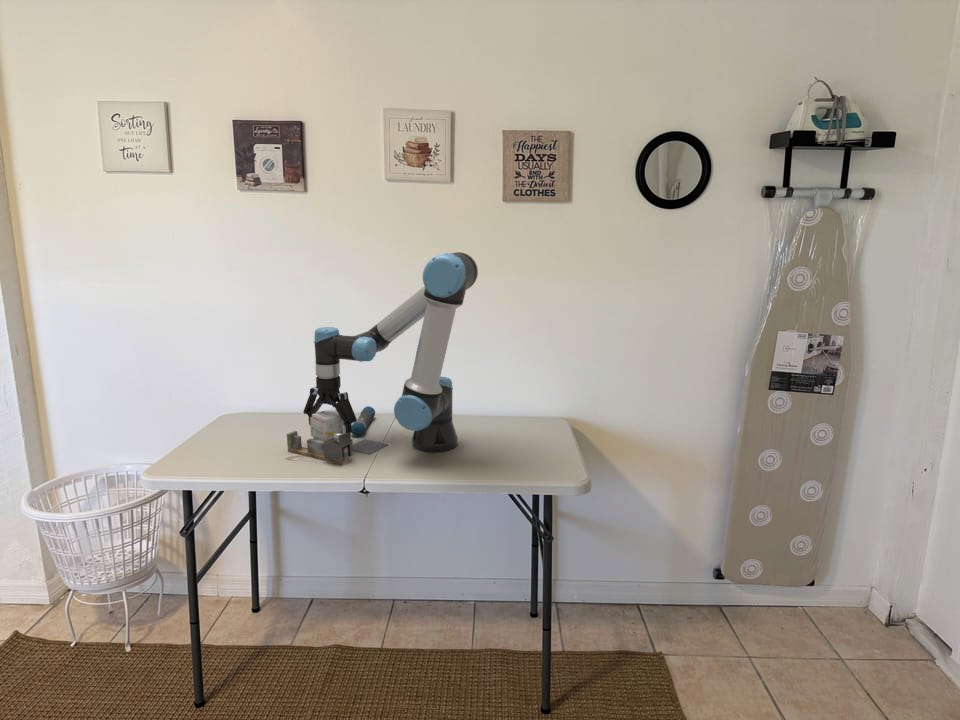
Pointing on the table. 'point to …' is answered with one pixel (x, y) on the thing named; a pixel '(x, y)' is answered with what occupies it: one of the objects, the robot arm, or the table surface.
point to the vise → (310, 449)
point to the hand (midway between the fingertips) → (330, 438)
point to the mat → (368, 446)
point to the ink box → (326, 424)
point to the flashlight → (363, 421)
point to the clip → (338, 446)
